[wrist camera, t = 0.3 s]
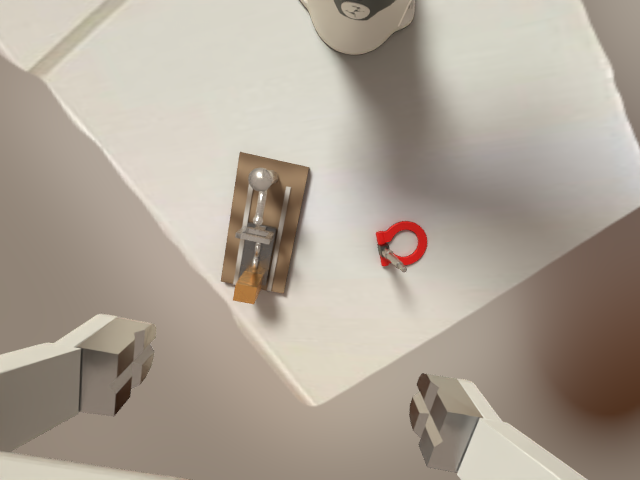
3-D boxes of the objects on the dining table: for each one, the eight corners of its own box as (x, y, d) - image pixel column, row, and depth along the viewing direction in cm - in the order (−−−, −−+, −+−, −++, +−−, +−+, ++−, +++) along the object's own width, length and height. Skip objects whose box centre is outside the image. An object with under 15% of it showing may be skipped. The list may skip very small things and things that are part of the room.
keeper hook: (264, 165, 51) (250, 165, 40) (282, 170, 51) (273, 170, 41) (255, 216, 53) (240, 228, 42) (273, 220, 53) (262, 233, 43)
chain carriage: (248, 221, 53) (235, 231, 45) (277, 227, 53) (270, 238, 45) (238, 283, 56) (224, 303, 47) (265, 288, 56) (257, 310, 48)
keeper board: (242, 152, 52) (239, 151, 50) (309, 167, 53) (308, 167, 51) (223, 278, 58) (220, 281, 56) (284, 290, 58) (283, 294, 57)
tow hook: (421, 216, 56) (373, 227, 56) (456, 230, 43) (394, 244, 43) (427, 258, 58) (381, 268, 58) (462, 282, 45) (403, 296, 45)
